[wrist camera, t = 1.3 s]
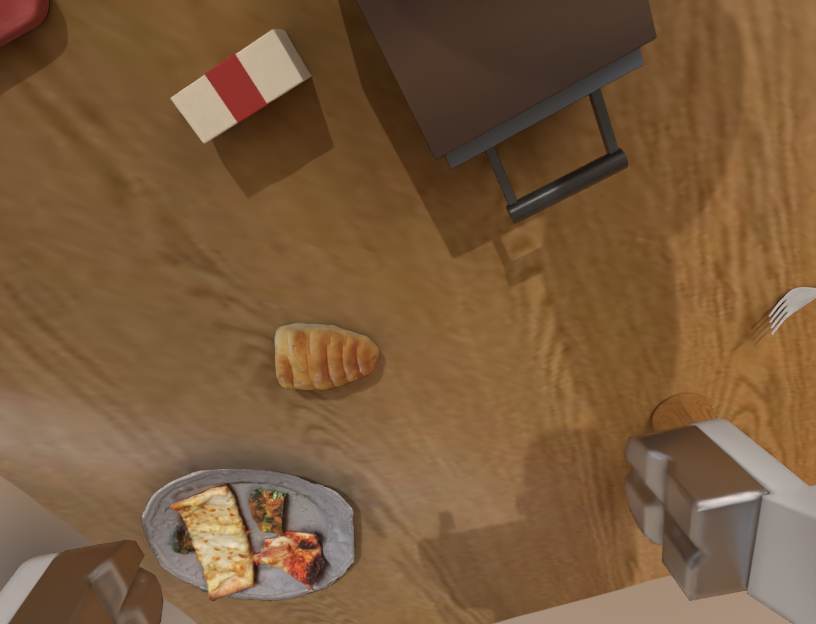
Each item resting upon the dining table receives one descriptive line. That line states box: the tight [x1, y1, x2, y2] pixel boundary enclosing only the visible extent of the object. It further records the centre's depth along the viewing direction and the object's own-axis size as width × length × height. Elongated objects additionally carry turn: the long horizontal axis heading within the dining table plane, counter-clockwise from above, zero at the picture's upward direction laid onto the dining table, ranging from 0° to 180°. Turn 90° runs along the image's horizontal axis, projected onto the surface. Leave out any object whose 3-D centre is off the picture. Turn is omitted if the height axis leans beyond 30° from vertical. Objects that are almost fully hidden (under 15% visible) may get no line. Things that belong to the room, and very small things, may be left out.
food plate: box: [141, 468, 355, 601], centre depth 56 cm, size 25×23×4 cm
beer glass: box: [651, 393, 718, 432], centre depth 44 cm, size 7×7×15 cm
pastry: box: [275, 323, 379, 390], centre depth 43 cm, size 9×7×4 cm
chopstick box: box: [171, 29, 311, 144], centre depth 32 cm, size 8×3×4 cm, turn 118°
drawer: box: [445, 48, 643, 224], centre depth 29 cm, size 20×12×6 cm, turn 28°
